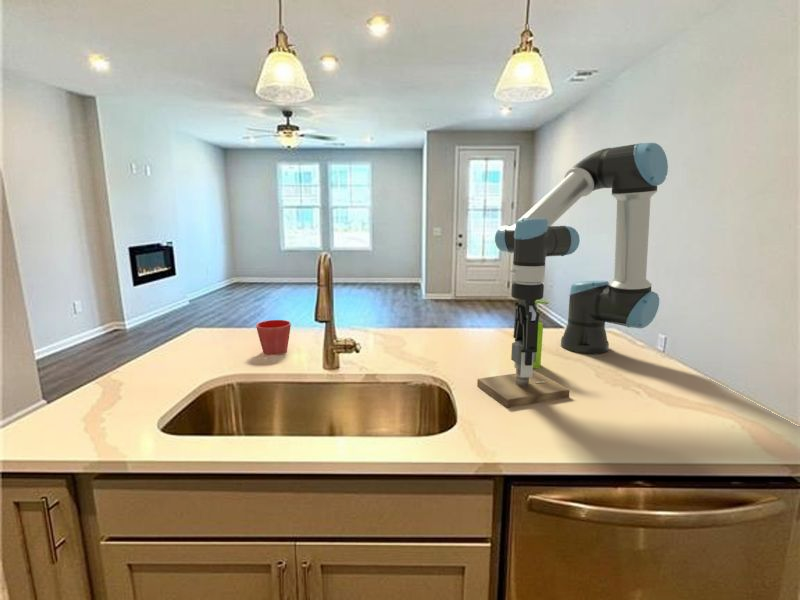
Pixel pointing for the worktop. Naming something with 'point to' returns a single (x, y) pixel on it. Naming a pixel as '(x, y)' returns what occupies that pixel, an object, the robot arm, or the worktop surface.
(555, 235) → the robot arm
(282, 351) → the flower pot
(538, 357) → the soap dispenser
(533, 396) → the wooden board with bolt
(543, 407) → the worktop surface
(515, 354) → the knob
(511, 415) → the worktop surface
